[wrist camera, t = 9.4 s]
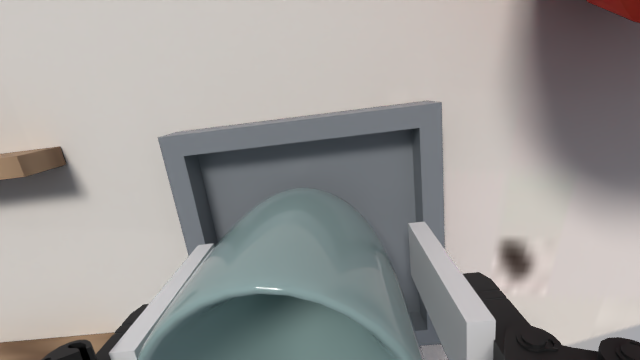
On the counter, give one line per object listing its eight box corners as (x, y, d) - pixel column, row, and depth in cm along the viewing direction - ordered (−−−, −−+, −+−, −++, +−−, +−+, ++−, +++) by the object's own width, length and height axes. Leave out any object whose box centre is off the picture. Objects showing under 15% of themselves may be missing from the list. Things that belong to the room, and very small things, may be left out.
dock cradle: (227, 336, 20) (216, 361, 18) (177, 131, 17) (157, 137, 15) (434, 318, 20) (446, 343, 18) (428, 100, 16) (441, 102, 14)
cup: (300, 139, 16) (245, 218, 7) (411, 233, 17) (502, 417, 8) (212, 243, 18) (73, 420, 9) (318, 321, 19) (298, 556, 10)
